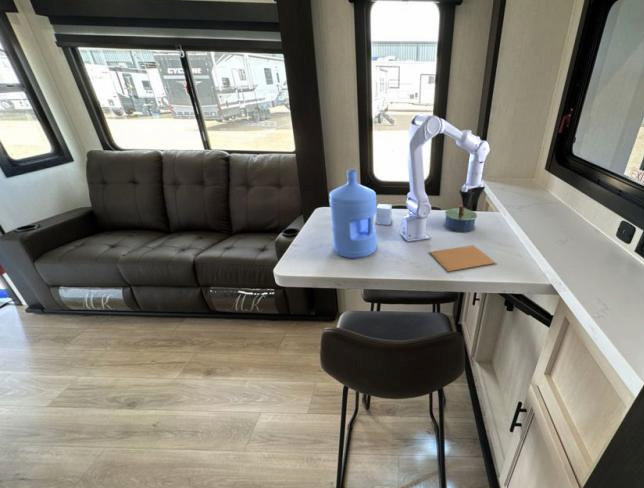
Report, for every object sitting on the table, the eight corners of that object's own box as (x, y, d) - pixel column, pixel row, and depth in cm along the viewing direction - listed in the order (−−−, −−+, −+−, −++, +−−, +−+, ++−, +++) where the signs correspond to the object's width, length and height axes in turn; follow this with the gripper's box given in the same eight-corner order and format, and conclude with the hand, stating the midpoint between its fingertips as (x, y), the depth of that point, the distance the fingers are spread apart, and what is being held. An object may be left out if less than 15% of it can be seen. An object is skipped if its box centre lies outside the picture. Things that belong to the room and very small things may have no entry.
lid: (454, 223, 123) (455, 212, 121) (439, 212, 134) (440, 202, 132) (482, 219, 127) (484, 209, 125) (466, 209, 138) (467, 199, 136)
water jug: (325, 253, 108) (316, 173, 94) (347, 237, 120) (343, 163, 106) (364, 262, 103) (362, 179, 89) (383, 244, 116) (384, 168, 102)
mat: (448, 271, 99) (448, 270, 99) (430, 253, 111) (430, 252, 111) (494, 263, 105) (494, 262, 105) (472, 246, 116) (472, 245, 116)
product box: (378, 219, 138) (378, 203, 134) (391, 220, 137) (392, 204, 134) (376, 224, 133) (375, 208, 129) (389, 225, 132) (390, 209, 128)
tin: (453, 233, 126) (455, 221, 124) (440, 222, 136) (441, 211, 133) (479, 230, 130) (481, 218, 127) (464, 220, 140) (465, 208, 137)
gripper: (475, 177, 114) (470, 211, 121) (492, 171, 123) (486, 203, 130) (458, 173, 117) (454, 207, 124) (476, 168, 127) (471, 199, 134)
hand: (470, 205), depth 128 cm, fingers open, 7 cm apart
